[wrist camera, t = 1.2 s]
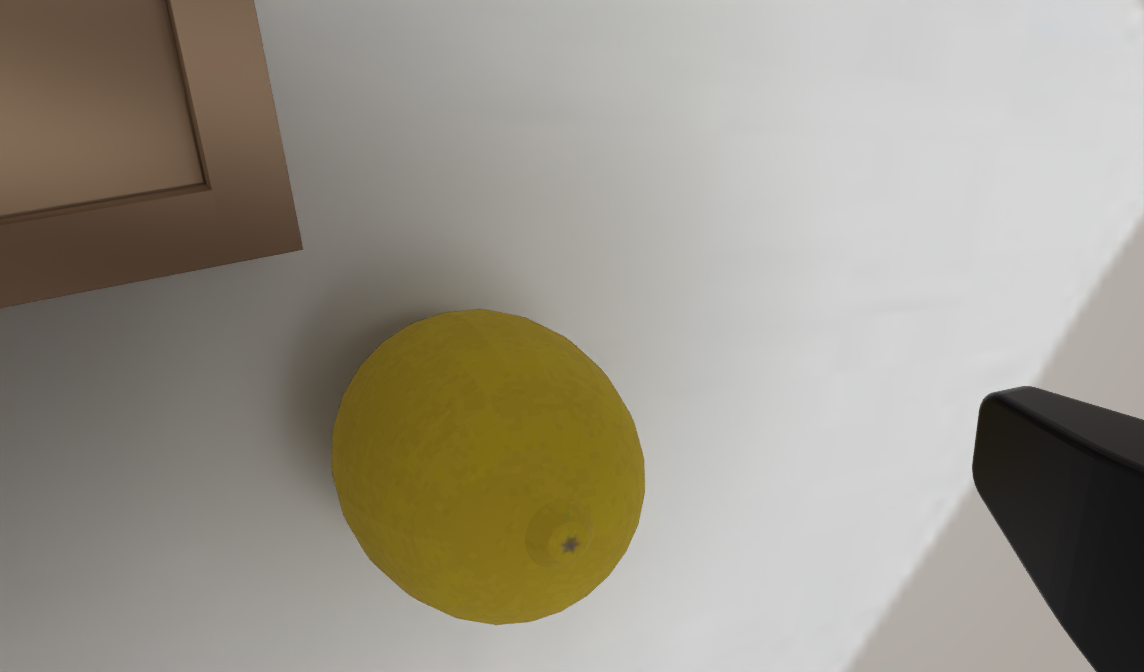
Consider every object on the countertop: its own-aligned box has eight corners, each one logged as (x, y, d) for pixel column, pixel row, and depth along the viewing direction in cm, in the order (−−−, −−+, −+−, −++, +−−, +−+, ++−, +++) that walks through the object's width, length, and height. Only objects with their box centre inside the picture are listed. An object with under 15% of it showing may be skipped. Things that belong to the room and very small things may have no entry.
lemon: (297, 526, 22) (391, 735, 15) (300, 277, 21) (404, 380, 14) (530, 502, 25) (705, 674, 18) (545, 276, 24) (738, 365, 17)
